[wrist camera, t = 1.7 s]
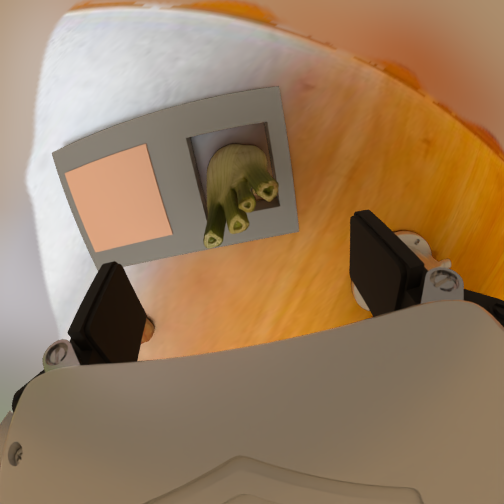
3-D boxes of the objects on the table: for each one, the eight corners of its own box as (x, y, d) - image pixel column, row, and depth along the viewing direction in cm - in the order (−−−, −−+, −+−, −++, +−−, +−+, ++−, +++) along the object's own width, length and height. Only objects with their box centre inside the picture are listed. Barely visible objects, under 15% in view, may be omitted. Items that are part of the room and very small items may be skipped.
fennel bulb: (213, 197, 28) (207, 262, 17) (197, 152, 25) (177, 191, 15) (269, 180, 27) (298, 236, 17) (256, 133, 25) (279, 159, 15)
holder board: (274, 87, 23) (279, 86, 20) (293, 221, 30) (299, 233, 27) (63, 147, 23) (50, 153, 20) (105, 259, 30) (97, 273, 28)
